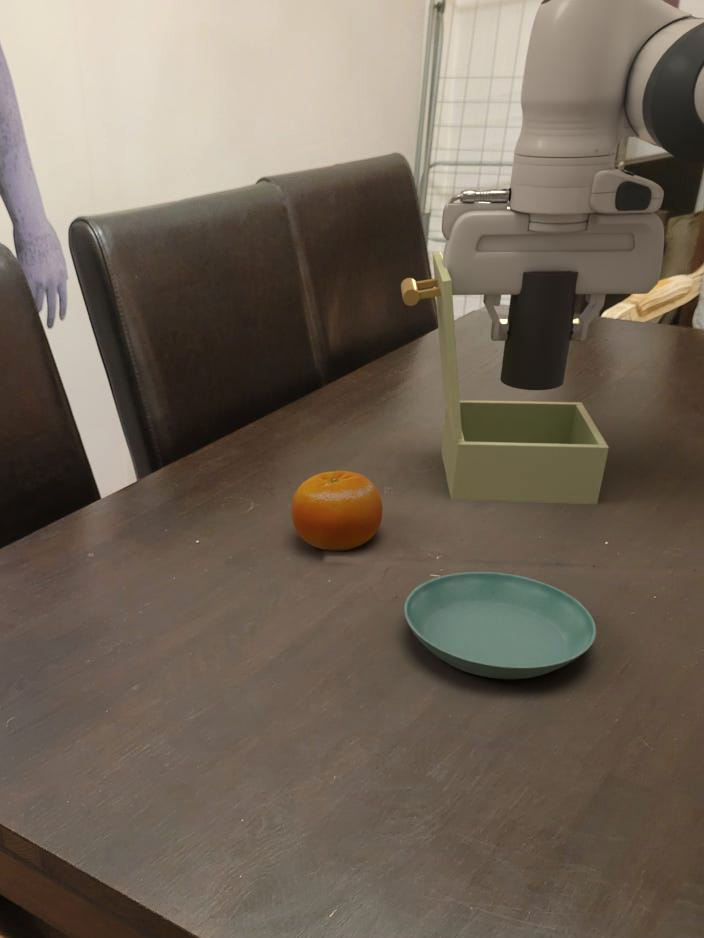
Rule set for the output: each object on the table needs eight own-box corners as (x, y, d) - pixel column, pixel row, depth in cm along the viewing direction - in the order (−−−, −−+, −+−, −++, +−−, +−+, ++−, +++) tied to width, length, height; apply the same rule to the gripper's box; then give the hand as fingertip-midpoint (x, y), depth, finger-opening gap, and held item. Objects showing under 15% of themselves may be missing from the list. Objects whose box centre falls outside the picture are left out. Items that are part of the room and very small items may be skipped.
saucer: (566, 717, 68) (573, 687, 67) (373, 664, 75) (376, 635, 73) (607, 622, 79) (613, 594, 78) (435, 582, 85) (438, 556, 84)
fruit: (317, 479, 97) (327, 433, 89) (389, 522, 95) (406, 479, 88) (271, 539, 94) (278, 497, 87) (345, 584, 92) (359, 545, 85)
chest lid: (440, 250, 99) (397, 258, 99) (451, 279, 87) (402, 287, 88) (450, 395, 106) (410, 401, 107) (462, 439, 95) (417, 445, 96)
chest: (570, 460, 109) (581, 402, 105) (596, 510, 97) (609, 447, 94) (440, 457, 110) (446, 399, 107) (450, 506, 99) (457, 444, 95)
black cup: (557, 371, 100) (574, 260, 94) (568, 390, 95) (587, 274, 89) (496, 371, 101) (510, 261, 95) (504, 390, 96) (519, 274, 90)
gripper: (447, 194, 87) (434, 348, 94) (683, 190, 84) (650, 348, 92) (442, 185, 92) (430, 331, 99) (663, 181, 90) (634, 330, 97)
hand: (537, 339), depth 96 cm, fingers closed on black cup, 6 cm apart
